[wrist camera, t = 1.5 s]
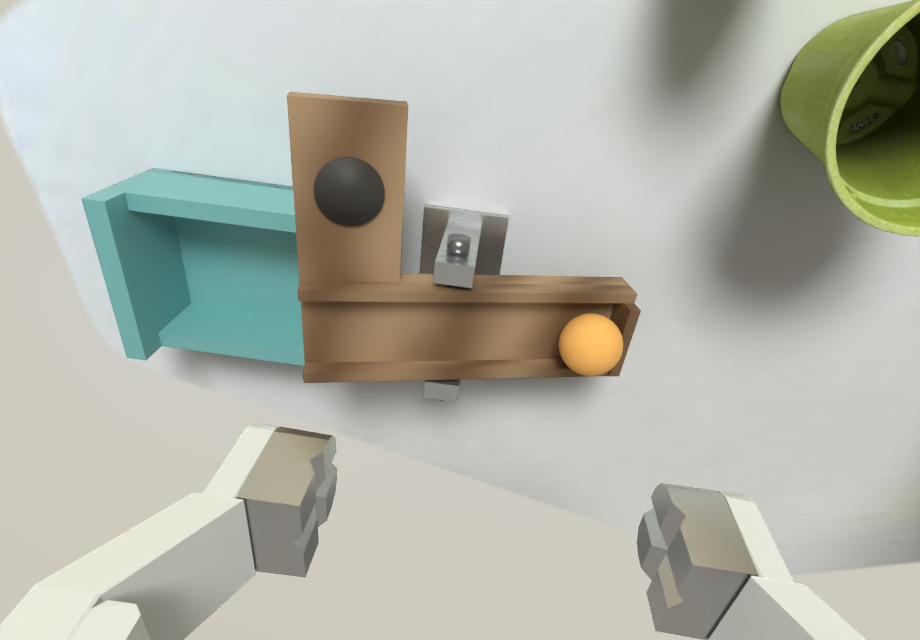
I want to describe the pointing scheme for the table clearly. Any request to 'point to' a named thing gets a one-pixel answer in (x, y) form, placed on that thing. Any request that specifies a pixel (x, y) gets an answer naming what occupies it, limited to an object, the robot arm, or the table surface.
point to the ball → (591, 344)
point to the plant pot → (863, 113)
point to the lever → (410, 295)
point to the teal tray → (200, 264)
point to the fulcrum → (459, 260)
